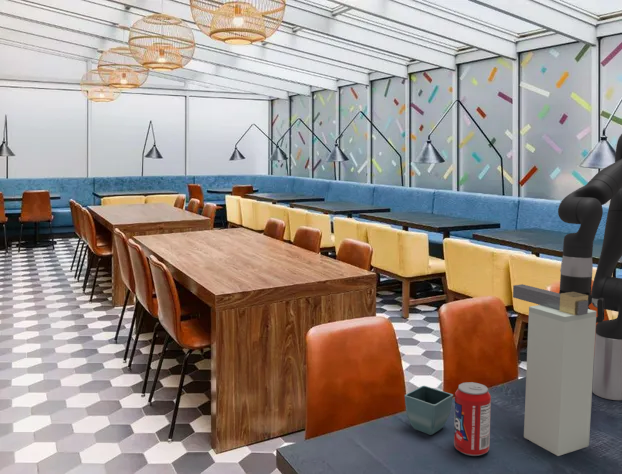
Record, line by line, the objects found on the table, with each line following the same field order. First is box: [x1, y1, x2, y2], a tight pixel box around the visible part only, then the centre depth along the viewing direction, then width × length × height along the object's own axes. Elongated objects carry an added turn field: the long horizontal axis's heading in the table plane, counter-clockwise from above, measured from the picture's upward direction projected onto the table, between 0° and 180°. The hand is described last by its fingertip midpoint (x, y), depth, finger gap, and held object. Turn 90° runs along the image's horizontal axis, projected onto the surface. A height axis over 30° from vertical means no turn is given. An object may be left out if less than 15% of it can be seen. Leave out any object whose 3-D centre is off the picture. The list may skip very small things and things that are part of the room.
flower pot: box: [404, 385, 454, 436], centre depth 143 cm, size 9×9×9 cm
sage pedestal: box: [523, 304, 597, 457], centre depth 134 cm, size 10×10×32 cm
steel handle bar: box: [512, 283, 589, 315], centre depth 135 cm, size 4×19×4 cm, turn 26°
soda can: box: [453, 381, 492, 457], centre depth 132 cm, size 8×8×15 cm
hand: (572, 334), depth 153 cm, fingers open, 8 cm apart
